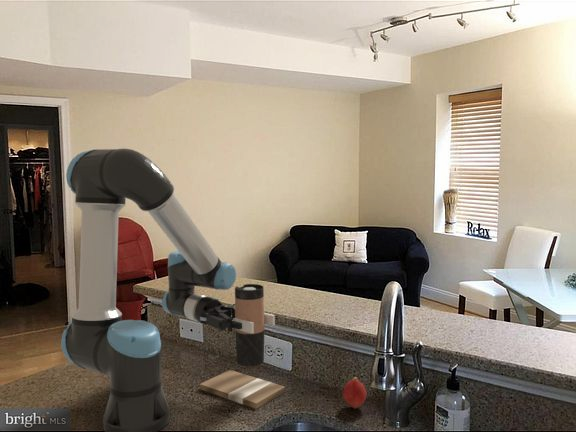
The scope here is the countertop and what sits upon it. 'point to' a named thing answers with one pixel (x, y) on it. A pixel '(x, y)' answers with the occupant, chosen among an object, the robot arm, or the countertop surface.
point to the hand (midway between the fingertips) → (263, 324)
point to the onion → (354, 393)
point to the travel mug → (252, 310)
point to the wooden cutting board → (243, 388)
